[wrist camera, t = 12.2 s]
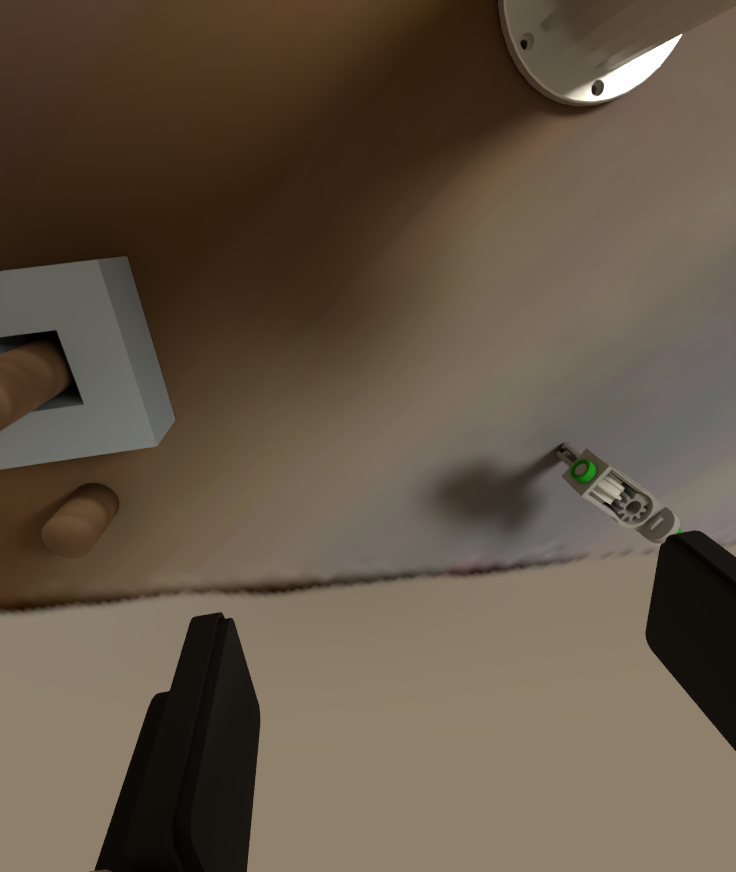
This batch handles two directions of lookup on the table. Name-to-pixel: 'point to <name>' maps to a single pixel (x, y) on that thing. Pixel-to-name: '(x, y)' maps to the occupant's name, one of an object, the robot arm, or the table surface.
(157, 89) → the table surface
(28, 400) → the long dowel
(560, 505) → the table surface
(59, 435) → the hole block
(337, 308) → the table surface
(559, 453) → the mechanical component
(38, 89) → the table surface
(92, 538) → the short dowel
